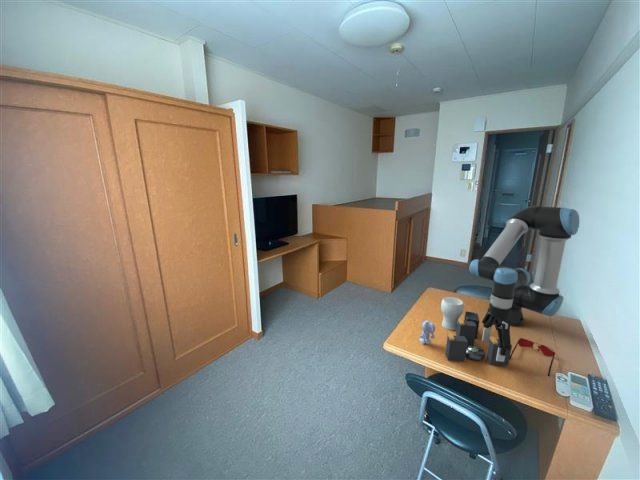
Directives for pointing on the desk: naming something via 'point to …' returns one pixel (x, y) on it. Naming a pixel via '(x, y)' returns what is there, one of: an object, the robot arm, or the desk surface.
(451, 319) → the cup
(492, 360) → the dark grey tan-ended block
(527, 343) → the glasses
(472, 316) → the box
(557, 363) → the desk surface
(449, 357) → the dark grey block
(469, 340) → the grey tan block
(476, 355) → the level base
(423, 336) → the toy figurine
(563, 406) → the desk surface
